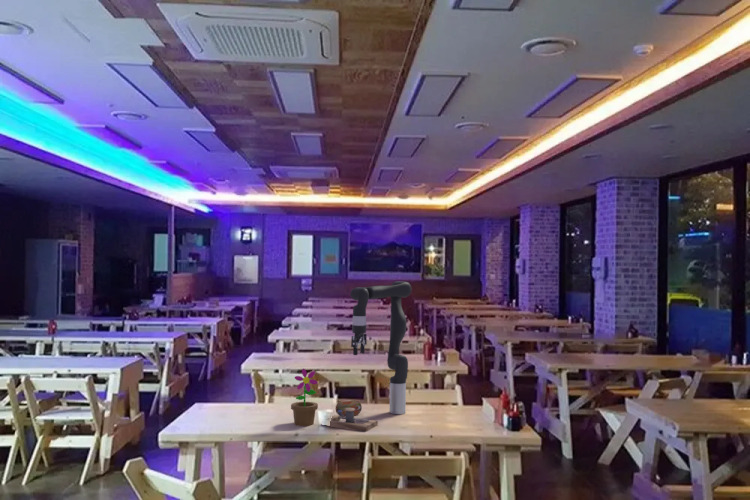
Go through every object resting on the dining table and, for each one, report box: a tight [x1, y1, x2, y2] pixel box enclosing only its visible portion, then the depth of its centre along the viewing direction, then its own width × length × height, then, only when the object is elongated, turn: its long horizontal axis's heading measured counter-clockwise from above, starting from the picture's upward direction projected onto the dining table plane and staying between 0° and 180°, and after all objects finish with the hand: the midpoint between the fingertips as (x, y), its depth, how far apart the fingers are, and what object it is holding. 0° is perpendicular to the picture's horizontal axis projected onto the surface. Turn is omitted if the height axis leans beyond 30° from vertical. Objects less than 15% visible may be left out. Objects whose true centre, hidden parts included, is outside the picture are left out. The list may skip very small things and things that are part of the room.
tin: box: [335, 399, 363, 417], centre depth 369 cm, size 15×3×8 cm, turn 112°
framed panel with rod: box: [330, 414, 379, 432], centre depth 347 cm, size 14×26×2 cm, turn 65°
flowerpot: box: [290, 368, 319, 427], centre depth 349 cm, size 14×14×30 cm
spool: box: [344, 408, 355, 423], centre depth 347 cm, size 5×5×9 cm
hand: (358, 354), depth 358 cm, fingers open, 8 cm apart
